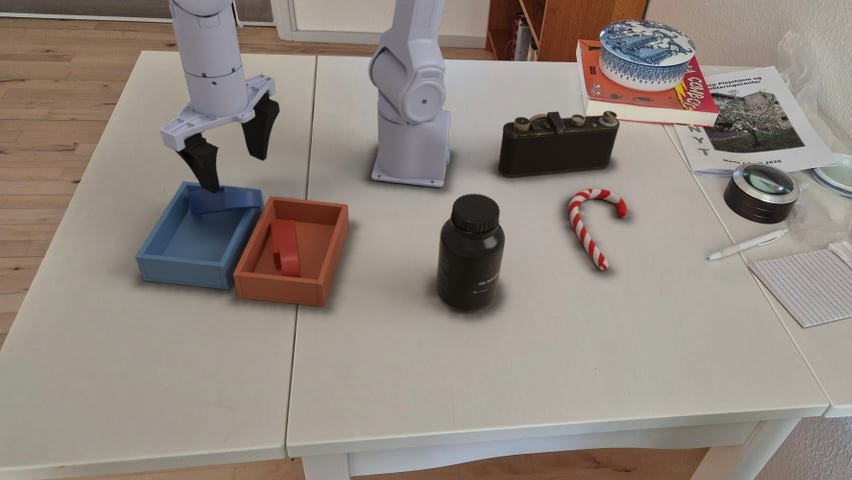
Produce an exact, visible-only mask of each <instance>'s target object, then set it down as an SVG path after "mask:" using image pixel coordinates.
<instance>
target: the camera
mask: <svg viewBox="0 0 852 480" xmlns="http://www.w3.org/2000/svg"><path fill="white" fill-rule="evenodd" d="M617 117H618V115H617V113H616V112H614V111H612V110H605V111H603V113H602V115H588V116H584V115H581V114H577V113H576V114H572V115H571V117H561V114H560V112H559V111H547V113H538V114H535V115H533V116H531V117H530V118H528V117H524V116H518V117H516V118H514V121H508V122H507V123H505V124H504V125H503V127H502V136H501V143H500V150H499V157H498V158H499V159H498V165H497V172H498V174H500V175H501V176H502V177H505V178H507V179H508V178H510V179H511V178H512V179H513V178H523V177H530V176H531V177H532V176H543V175H553V174H554V175H555V174H564V173H565V174H566V173H576V172H584V171H596V170H604V169H607V168H608V167H609V166H610V161H611V157H612V153H613V149H614V146H615V142H616V139H617V135H618V132H619V129H620V124H621V123H620V120H618V118H617Z"/></svg>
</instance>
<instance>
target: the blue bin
mask: <svg viewBox="0 0 852 480" xmlns="http://www.w3.org/2000/svg"><path fill="white" fill-rule="evenodd" d="M219 187H234V186H232V185H224V184H219ZM235 187H236V191H243V190H258V191H261V200H262V207H261V208H254V209H241V210H232V211H224V212H217V213H209V214H199V215H192V214H191V209H190V199H189V192H194V191H201V190H205V189H203V188H202V187H201V185H200V183H199V182H198V181H197V182H195V181H186V180H183V181H182V183H181V184H180V185H179V187H178V188H177V190H176V192H175V194H174V195H173V196H172V198H171V200H170V201H169V202H168V204H167V206H166V208H165V209H164V211H163V212H162V214H161V215H160V217H159V219H158V220H157V222H156V224H155V225H154V226H153V228H152V229H151V231H150V233H149V234H148V236H147V237H146V239H145V240H144V242H143V243H142V245H141V246H140V248H139V250H138V251H137V253H136V255H135V256H134V258H135V261H136V263H137V266H138V269H139V272H140V274H141V278H142V279H143V281H144V282H154V283H155V282H156V283H166V284H175V285H183V286H194V287H203V288H212V289H219V290H220V289H222V290H230V289H231V287H232V285H233V282H234V276H233V274H234V272H235V270H236V267H237V265H238V263H239V261H240V259H241V257H242V255H243V252H244V250H245V248H246V246H247V244H248V242H249V240H250V237H251V235H252V233H253V231H254V229H255V227H256V225H257V222H258V220H259V218H260V216H261V214H262V212H263V210H264V207H265V205H264V199H263V193H262V189H260V188H259V189H258V188H250V187H241V186H235Z"/></svg>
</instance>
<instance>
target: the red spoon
mask: <svg viewBox="0 0 852 480" xmlns="http://www.w3.org/2000/svg"><path fill="white" fill-rule="evenodd" d="M271 232H272V249H273V258H274V264H281V270H282V276H287V277H296V278H301V274H300V266H299V258H298V249H297V239H296V230H295V223H294V220H285V221H275V222H271Z"/></svg>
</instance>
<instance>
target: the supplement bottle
mask: <svg viewBox="0 0 852 480" xmlns="http://www.w3.org/2000/svg"><path fill="white" fill-rule="evenodd" d="M500 211H501V210H500V206H499V205H498V202H496V201H495V200H494V199H493V198H491V197H489V196H487V195H485V194H481V193H467V194H463V195H461V196H458V198H456V199H455V200H454V201H453V204H452V208H451V213H450V217H449V218H448V219H447V220H446V221H445V222H444V224H442V227H441V229H440V233H439V242H438V255H437V256H438V258H437V268H436V281H435V289H436V292H437V296H438V297H439V299H440V300H441V301H442V302H443V303H444V304H445V305H447V306H448V307H450V308H452V309H454V310H457V311H462V312H475V311H479V310H481V309H484V308H486V307H488V306H489V305H490V304H491V303H492V302H493V301H494V299H495V298H496V295H497V290H498V286H499V280H500V273H501V268H502V262H503V257H504V250H505V244H506V235H505V232H504V229H503V227H502V226H501V225H500V214H501V213H500Z"/></svg>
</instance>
